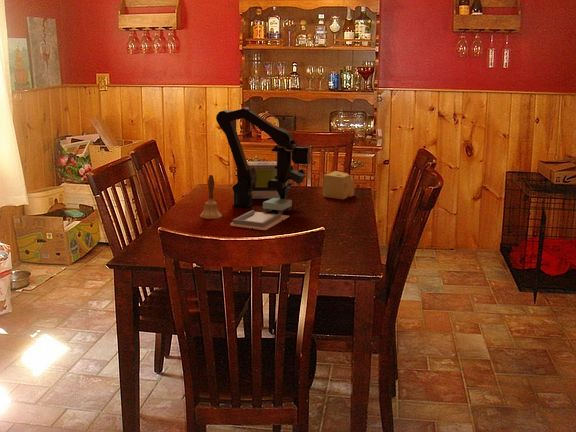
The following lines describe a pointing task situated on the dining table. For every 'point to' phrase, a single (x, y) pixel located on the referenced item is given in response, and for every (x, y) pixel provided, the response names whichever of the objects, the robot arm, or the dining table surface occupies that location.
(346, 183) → the cheese
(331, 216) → the dining table surface
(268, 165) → the tea box
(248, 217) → the dock
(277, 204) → the sage green box
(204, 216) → the hand bell
